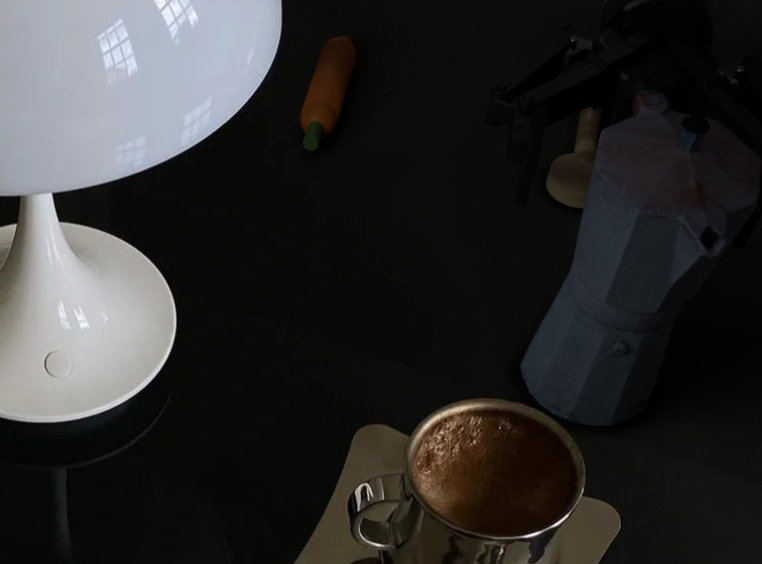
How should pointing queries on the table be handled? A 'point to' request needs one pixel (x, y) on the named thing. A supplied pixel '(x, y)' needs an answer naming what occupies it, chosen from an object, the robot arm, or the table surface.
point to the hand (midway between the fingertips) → (634, 208)
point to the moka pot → (639, 255)
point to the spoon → (576, 163)
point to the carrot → (327, 90)
